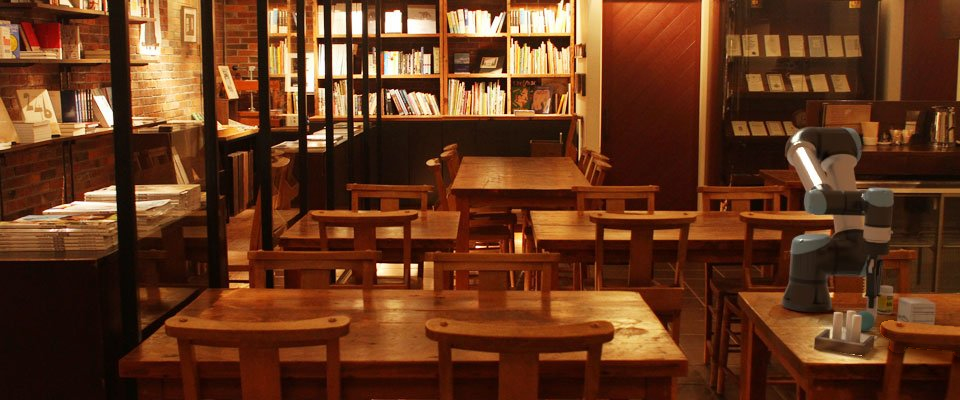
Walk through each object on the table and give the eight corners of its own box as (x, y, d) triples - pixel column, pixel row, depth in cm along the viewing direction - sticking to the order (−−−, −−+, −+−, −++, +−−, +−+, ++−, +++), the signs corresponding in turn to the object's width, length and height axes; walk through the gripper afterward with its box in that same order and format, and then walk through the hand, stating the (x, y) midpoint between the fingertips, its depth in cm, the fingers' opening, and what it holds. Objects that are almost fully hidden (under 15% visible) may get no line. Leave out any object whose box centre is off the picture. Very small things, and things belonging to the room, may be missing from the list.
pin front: (844, 343, 288) (846, 311, 287) (846, 341, 290) (848, 310, 289) (852, 344, 287) (855, 312, 286) (855, 342, 289) (857, 311, 288)
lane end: (814, 348, 282) (814, 337, 282) (825, 339, 292) (826, 328, 292) (863, 356, 275) (864, 345, 275) (873, 346, 285) (874, 336, 285)
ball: (849, 331, 301) (851, 311, 300) (855, 327, 306) (856, 307, 305) (871, 334, 298) (872, 314, 297) (876, 330, 303) (877, 310, 302)
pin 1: (830, 345, 286) (832, 313, 285) (833, 343, 288) (835, 311, 287) (839, 346, 285) (841, 314, 283) (841, 344, 287) (844, 312, 285)
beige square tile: (833, 338, 293) (833, 337, 293) (842, 331, 301) (842, 330, 301) (869, 344, 287) (869, 343, 287) (877, 336, 296) (878, 336, 296)
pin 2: (849, 348, 283) (851, 316, 282) (851, 346, 285) (853, 314, 284) (858, 349, 282) (860, 317, 281) (860, 347, 284) (862, 315, 283)
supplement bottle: (887, 315, 322) (889, 288, 321) (873, 312, 325) (875, 286, 324) (895, 313, 325) (897, 287, 324) (881, 310, 328) (883, 284, 327)
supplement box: (894, 340, 292) (897, 296, 290) (919, 340, 293) (923, 296, 291) (907, 347, 285) (911, 303, 283) (933, 347, 285) (936, 303, 284)
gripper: (885, 244, 299) (879, 324, 302) (894, 238, 310) (889, 316, 313) (858, 241, 303) (852, 320, 306) (868, 236, 314) (863, 312, 317)
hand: (871, 318), depth 309 cm, fingers closed
